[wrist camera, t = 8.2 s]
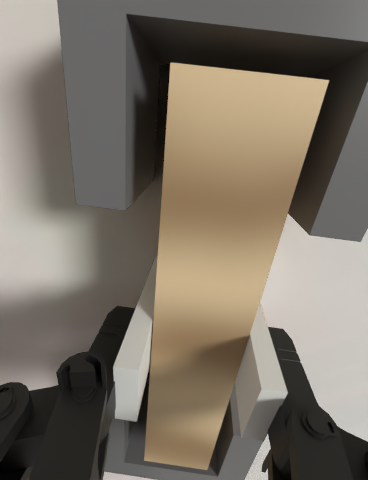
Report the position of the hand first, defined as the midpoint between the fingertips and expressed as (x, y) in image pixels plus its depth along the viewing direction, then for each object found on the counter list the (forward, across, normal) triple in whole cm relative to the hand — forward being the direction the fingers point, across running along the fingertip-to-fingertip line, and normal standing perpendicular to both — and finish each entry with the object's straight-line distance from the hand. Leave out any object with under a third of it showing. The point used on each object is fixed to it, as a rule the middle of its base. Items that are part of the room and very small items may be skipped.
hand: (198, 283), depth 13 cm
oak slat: (+1, 0, 0) cm, 1 cm away
